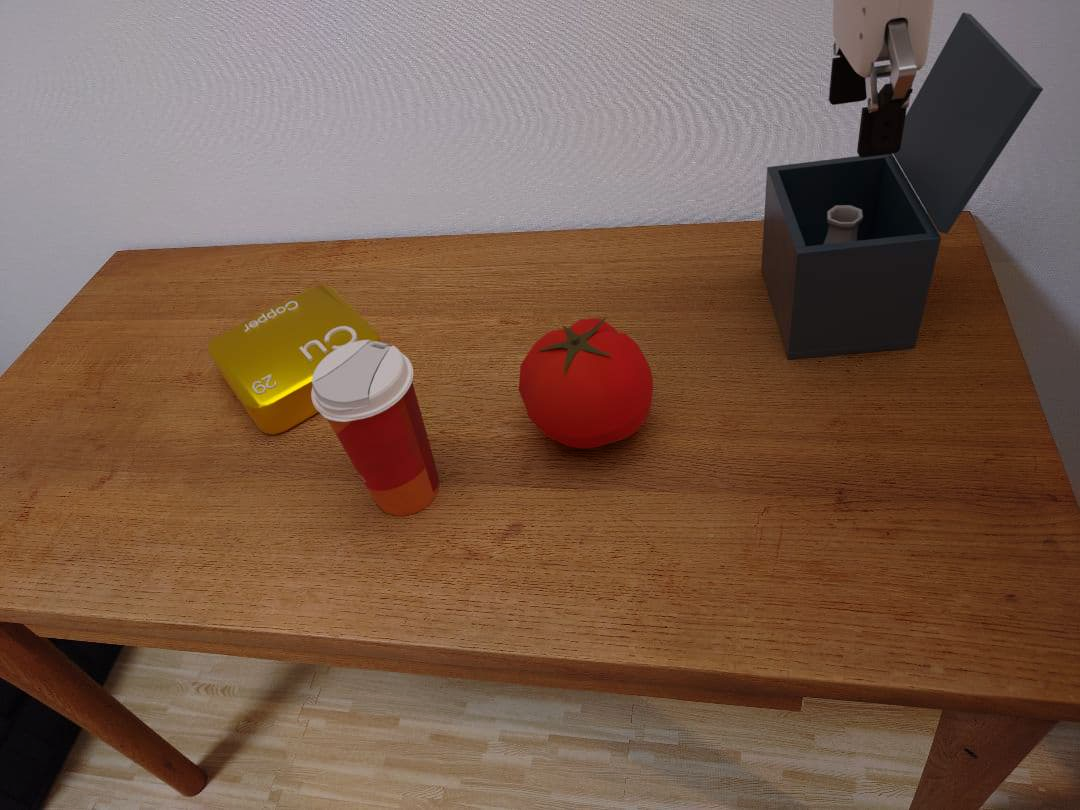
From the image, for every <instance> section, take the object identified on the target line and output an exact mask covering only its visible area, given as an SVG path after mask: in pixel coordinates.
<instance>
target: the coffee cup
mask: <svg viewBox="0 0 1080 810" xmlns="http://www.w3.org/2000/svg"><path fill="white" fill-rule="evenodd" d="M413 379H414V367H413V364H412V362H411V360H410V359H409V357H407V356H406V355H405V354H404V353H402V352H401V351H400V349H398V347H397V346H395V345H393V344H392V345H389V343H385V342H382V341H381V342H377V341H375V342H371V340H362V341H356V342H353V343H349V344H347V345H344V346H342V347H340V348H338V349H336V350H334V351H333V352H331V353H330V354H329V355H327V356H326V357H325V358H324V359H323V360H322V361H321V362H320V363H319V365H318V366H317V368H316V369H315V371H314V374H313V378H312V392H311V397H312V402H313V405H314V406H315V408H316V409H317V410H318V411H319V412H318V413H320V415H322V417H323V418H324V419H326V420H327V422H328V424H329V426H330V427H331V429H332V431H333V432H334V434H335V436H336V437H337V439H338V441H339V443H340V444H341V446H342V448H343V449H344V451H345V453H346V455H347V457H348V459H349V460H350V462H351V463H352V465H353V467H354V469H355V470H356V472H357V474H358V475H359V478H360V479H361V480H362V482H363V483H364V486H365V487H366V489H367V490H368V492H369V494H370V495H371V497H372V499H373V500H374V502H375V503H376V505H377V507H378V508H380V509H381V510H382V511H383V512H384V513H386V514H388V515H391V516H395V517H406V516H410V515H414V514H416V513H418V512H420V511H422V510H424V509H425V508H427V507H428V506H429V505H430V504H431V503H432V502H433V501H434V500H435V498H436V496H437V494H438V492H439V489H440V480H439V475H438V471H437V466H436V462H435V459H434V455H433V452H432V451H433V450H432V447H431V444H430V440H429V436H428V433H427V429H426V425H425V423H424V419H423V416H422V411H421V408H420V405H419V401H418V397H417V393H416V390H415V386H414V383H413Z"/></svg>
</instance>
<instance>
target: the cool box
mask: <svg viewBox="0 0 1080 810" xmlns="http://www.w3.org/2000/svg"><path fill="white" fill-rule="evenodd" d="M764 198H765V199H764V215H763V233H762V250H761V251H762V252H761V266H760V267H761V269H760V270H761V272H762V276H763V279H764V283H765V287H766V290H767V294H768V297H769V300H770V301H769V302H770V304H771V307H772V310H773V315H774V318H775V321H776V324H777V327H778V331H779V335H780V338H781V341H782V344H783V345H782V346H783V349H784V352H785V356H786V359H787V360H797V359H798V360H799V359H808V358H809V359H810V358H818V357H819V358H820V357H829V356H830V357H831V356H841V355H851V354H852V355H853V354H862V353H872V352H883V351H884V352H885V351H894V350H904V349H905V350H907V349H915V348H916V345H917V340H918V337H919V333H920V329H921V325H922V320H923V317H924V312H925V308H926V304H927V299H928V296H929V292H930V287H931V282H932V279H933V274H934V271H935V265H936V262H937V258H938V254H939V250H940V245H941V242H942V237H941V235H940V232H939V231H938V230H937V228H936V226H935V225H934V223H933V221H932V219H931V218H930V216H929V214H928V213H927V211H926V209H925V208H924V206H923V204H922V202H921V201H920V199H919V197H918V196H917V194H916V192H915V190H914V189H913V187H912V185H911V184H910V182H909V180H908V179H907V177H906V175H905V173H904V172H903V170H902V168H901V167H900V165H899V163H898V162H897V160H896V158H895V156H894V155H893V154H887V155H879V156H871V157H864V158H861V157H860V156H859V155H856V156H848V157H839V158H833V159H832V158H831V159H830V158H829V159H821V160H814V161H805V162H798V163H789V164H782V165H781V164H780V165H772V166H767V167H766V180H765V197H764ZM836 205H851V206H853V207H856V208H859V209H862V215H863V219H862V222H860V223H859V225H858V230H857V241H852V242H843V243H833V244H824V242H825V239H826V236H827V233H828V228H829V224H828V221H827V212H828V211H829V210H830V209H832V208H833V207H834V206H836ZM823 244H824V245H823Z"/></svg>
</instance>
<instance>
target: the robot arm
mask: <svg viewBox="0 0 1080 810" xmlns="http://www.w3.org/2000/svg"><path fill="white" fill-rule="evenodd" d="M934 3H935V0H833V7H832V33H833V37H834V42H833V46H832V51H833V56H834V57H832V58H831V68H830V69H831V70H830V81H829V91H828V102H829V103H830V105H833V106H836V105H843V104H844V105H845V104H850V103H858V102H864V101H866V106H864V107H861V114H860V121H859V123H860V124H859V132H858V139H857V146H856V147H857V148H856V153H857V156H860V157H861V158H864V157H871V156H879V155H887V154H894V153H897V152H898V151H899V150H900V148H901V141H902V135H903V129H904V123H905V117H906V114H907V111H908V110H907V109H908V108H909V106H910V100H911V99H910V98H911V95H912V93H913V90H914V89H913V84H914V81H915V78H916V76H917V71H921V70H922V69H923V68H924V66H925V64H926V62H927V58H928V52H929V44H930V37H931V29H932V21H933V20H932V19H933V13H934ZM885 61H889V63H890V64H883V65H877V66H875V63H880V62H885ZM883 78H889V82H888V83H885V84H884V85H883V86H882V87H881V89H880V90H879V84H878V79H883Z"/></svg>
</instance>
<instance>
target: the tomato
mask: <svg viewBox="0 0 1080 810" xmlns="http://www.w3.org/2000/svg"><path fill="white" fill-rule="evenodd" d="M608 317H609V315H607V316H605V317H604V318H603V319H602V318H598V317H596V318H595V317H593V318H580V319H578V320H577V321H576V322H574V323H573V324H571V325H570V326H569V327H566V326H565V325H562V328H559V329H553V330H551V331H549V332H546V333H545V334H544V335H542V336H541V337H540V338H539V339H538V340H537V341H535V342H534V343H533V345H532V347H531V348H530V350H529V351H528V353H527V354H526V355H525V357H524V359H523V360H522V362H521V363H520V365H519V366H520V367H519V379H518V380H519V381H518V392H519V395H520V397H521V399H522V402H523V404H524V408H525V410H526V414H527V415H528V418H529V420H530V421H531V422H532V423H533V424H534V425H535V426H536V427H537V428H538V429H539V430H540V431H541V432H542V433H543V435H545V437H547V438H549V439H551V440H552V441H556V442H558V443H559V444H562V445H564V446H566V447H569V448H570V447H571V448H576V449H577V448H578V449H595V448H599V447H603V446H606V445H608V444H611V443H614V442H617V441H621V440H624V439H627V438H629V437H630V436H632V435H633V434H635V433H636V432H637V431H638V430H639V429H640V428H641V426H642V425H643V424H644V422H645V421H646V419H647V418H648V416H649V414H650V410H651V406H652V400H653V392H654V380H653V379H654V378H653V373H652V369H651V366H650V364H649V362H648V360H647V358H646V356H645V354H644V352H643V351H642V349H641V347H640V346H639V344H638V343H637V342H636V341H635V340H634V339H633V338H632V337H630V336H629V335H628V334H627V333H625V332H619V331H618V330H617V329H616V328H615V327H614V326H612V325H611V324H609V323H608V322H606V319H607V318H608Z"/></svg>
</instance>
